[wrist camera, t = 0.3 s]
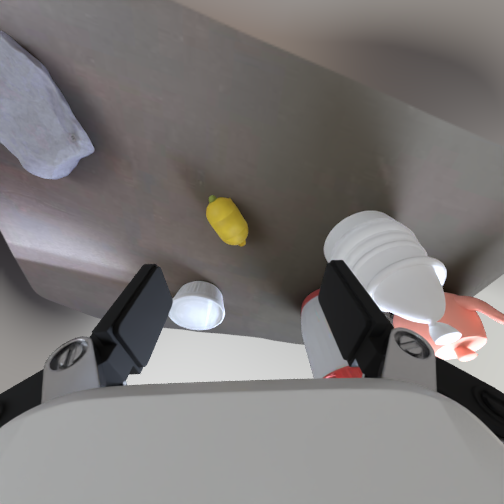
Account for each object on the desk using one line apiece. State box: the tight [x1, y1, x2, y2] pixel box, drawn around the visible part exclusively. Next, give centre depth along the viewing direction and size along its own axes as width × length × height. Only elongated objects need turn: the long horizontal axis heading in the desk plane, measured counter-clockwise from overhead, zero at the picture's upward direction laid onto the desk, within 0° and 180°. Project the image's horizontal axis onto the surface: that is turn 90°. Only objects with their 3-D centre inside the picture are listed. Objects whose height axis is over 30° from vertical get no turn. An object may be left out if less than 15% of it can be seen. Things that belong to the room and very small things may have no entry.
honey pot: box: [324, 211, 462, 345], centre depth 27 cm, size 13×13×18 cm
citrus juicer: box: [301, 289, 363, 379], centre depth 35 cm, size 16×17×20 cm
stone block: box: [0, 30, 95, 179], centre depth 21 cm, size 12×5×10 cm
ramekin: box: [168, 281, 225, 330], centre depth 38 cm, size 11×11×5 cm
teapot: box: [393, 292, 504, 361], centre depth 40 cm, size 22×15×12 cm
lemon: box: [206, 195, 248, 246], centre depth 28 cm, size 10×5×5 cm, turn 28°
